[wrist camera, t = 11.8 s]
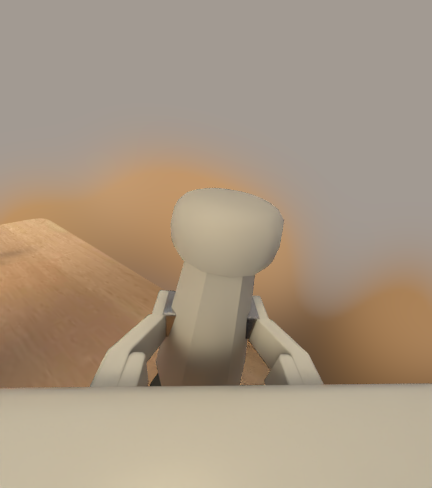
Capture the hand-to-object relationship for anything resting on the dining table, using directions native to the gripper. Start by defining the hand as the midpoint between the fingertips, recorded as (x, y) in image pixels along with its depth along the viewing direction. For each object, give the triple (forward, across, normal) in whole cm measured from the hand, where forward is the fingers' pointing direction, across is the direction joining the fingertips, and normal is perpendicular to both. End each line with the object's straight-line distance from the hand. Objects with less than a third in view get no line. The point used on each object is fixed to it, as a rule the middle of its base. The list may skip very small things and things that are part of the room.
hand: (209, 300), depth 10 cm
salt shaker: (-1, 0, +7) cm, 7 cm away
